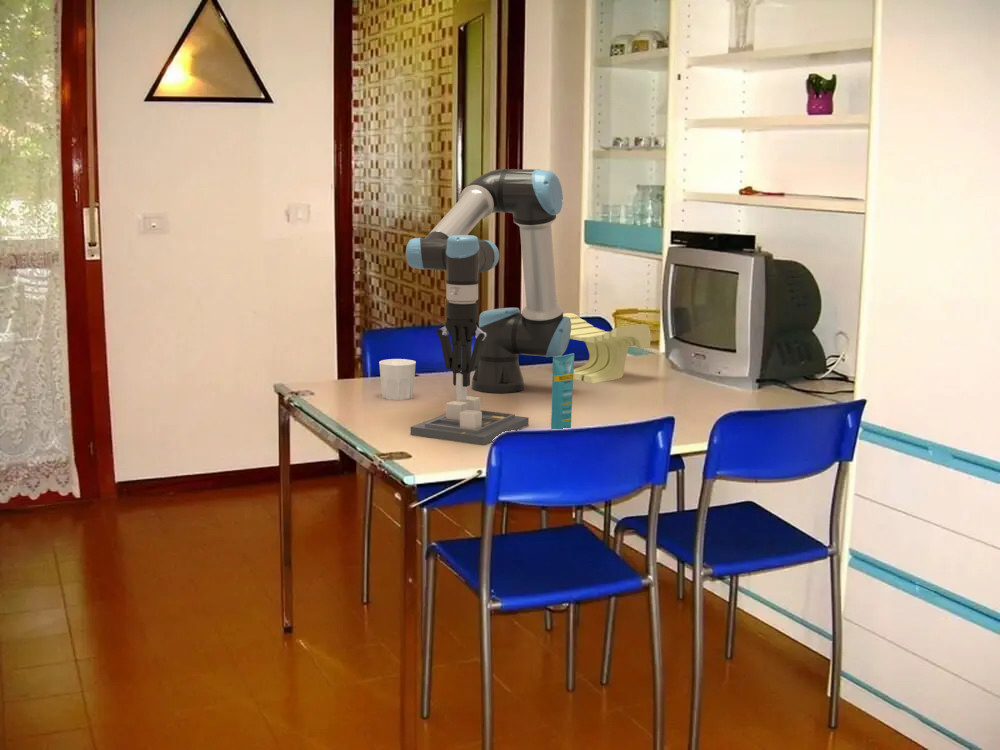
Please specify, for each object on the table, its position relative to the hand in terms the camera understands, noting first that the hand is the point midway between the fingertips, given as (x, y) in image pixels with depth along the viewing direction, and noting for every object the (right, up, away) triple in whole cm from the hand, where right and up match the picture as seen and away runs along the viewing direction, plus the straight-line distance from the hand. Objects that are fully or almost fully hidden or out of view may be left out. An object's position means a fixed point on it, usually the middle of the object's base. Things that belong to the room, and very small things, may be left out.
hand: (461, 399), depth 281 cm
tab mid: (-1, -5, +9) cm, 11 cm away
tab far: (+2, -4, +15) cm, 16 cm away
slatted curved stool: (+38, +5, +81) cm, 89 cm away
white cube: (+2, -7, 0) cm, 7 cm away
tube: (+24, -8, +8) cm, 27 cm away
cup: (-19, -1, +45) cm, 49 cm away
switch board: (+2, -8, +8) cm, 11 cm away
